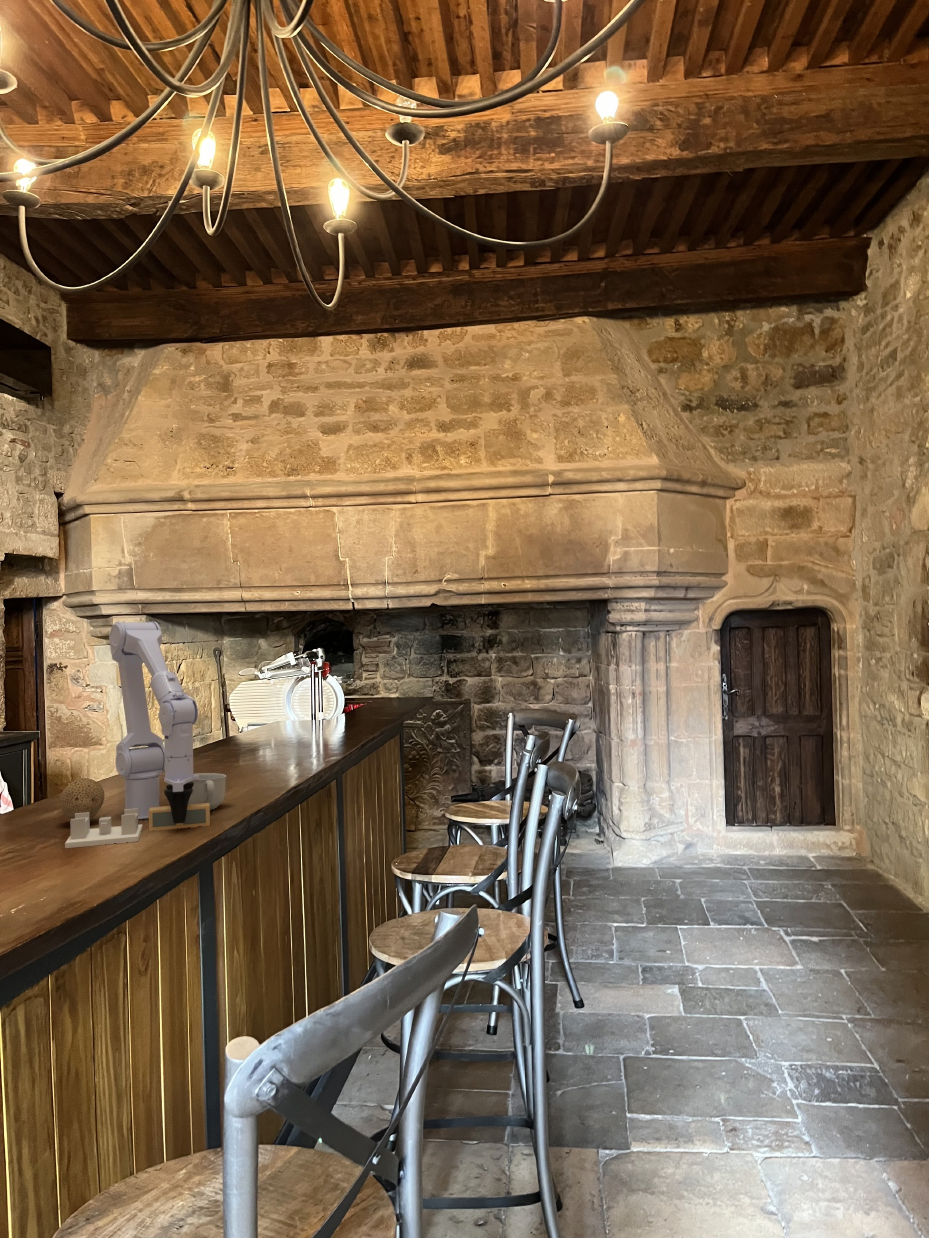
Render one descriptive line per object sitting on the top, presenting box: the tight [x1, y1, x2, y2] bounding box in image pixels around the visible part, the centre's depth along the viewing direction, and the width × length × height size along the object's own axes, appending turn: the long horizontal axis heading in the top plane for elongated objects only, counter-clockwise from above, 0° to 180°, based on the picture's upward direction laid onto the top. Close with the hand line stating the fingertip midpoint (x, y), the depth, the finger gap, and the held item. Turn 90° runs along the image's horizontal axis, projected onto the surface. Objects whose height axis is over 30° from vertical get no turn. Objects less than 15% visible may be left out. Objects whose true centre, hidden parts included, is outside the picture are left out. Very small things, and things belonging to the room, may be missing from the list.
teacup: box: [188, 772, 227, 811], centre depth 186 cm, size 14×11×8 cm
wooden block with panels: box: [148, 803, 211, 832], centre depth 170 cm, size 3×12×4 cm, turn 107°
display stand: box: [64, 808, 143, 849], centre depth 161 cm, size 11×13×5 cm
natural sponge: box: [59, 777, 106, 821], centre depth 174 cm, size 9×9×10 cm
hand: (179, 820), depth 169 cm, fingers open, 5 cm apart
